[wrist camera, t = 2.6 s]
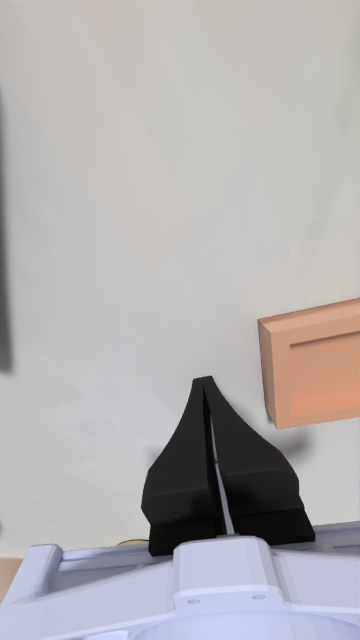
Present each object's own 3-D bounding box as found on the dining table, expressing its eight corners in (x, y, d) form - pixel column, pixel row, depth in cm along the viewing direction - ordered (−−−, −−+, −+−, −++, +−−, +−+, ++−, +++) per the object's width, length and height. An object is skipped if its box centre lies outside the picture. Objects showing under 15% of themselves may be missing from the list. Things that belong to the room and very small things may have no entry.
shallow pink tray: (425, 380, 14) (462, 401, 12) (265, 406, 15) (276, 429, 13) (459, 276, 11) (515, 283, 9) (257, 319, 12) (271, 332, 10)
